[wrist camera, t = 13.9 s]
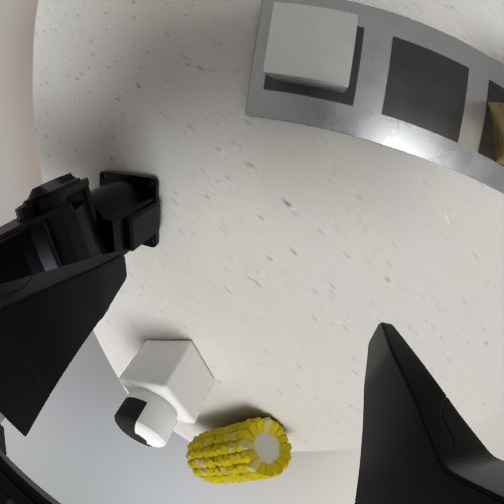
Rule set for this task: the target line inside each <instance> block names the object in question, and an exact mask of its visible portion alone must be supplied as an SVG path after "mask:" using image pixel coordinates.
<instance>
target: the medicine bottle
mask: <svg viewBox="0 0 504 504" xmlns="http://www.w3.org/2000/svg"><path fill="white" fill-rule="evenodd" d="M119 380H120V382H121V383H122V384H123V386H124V387H125V388H126V389H127V390H128V392H129V394H128V396H127V397H126V399H125V400H124V402H123V404H122V405H121V406H120V408H119V409H118V411H117V413H116V414H115V421H116V423H117V424H118V426H119V427H120V429H121V430H122V431H123V432H124V433H126V434H127V435H129V436H130V437H131V438H133V439H134V440H136V441H138V442H140V443H142V444H145V445H147V446H151V447H162V446H165V445H166V443H167V441H168V439H169V436H170V435H171V433H172V431H173V429H174V427H175V425H176V423H177V421H181V422H187V423H195V422H196V420H197V418H198V415H199V413H200V411H201V409H202V407H203V404H204V402H205V400H206V398H207V396H208V393H209V391H210V389H211V387H212V384H213V382H214V378H213V376H212V375H211V373H210V372H209V370H208V368H207V367H206V365H205V363H204V361H203V360H202V358H201V356H200V355H199V353H198V351H197V349H196V348H195V346H194V344H193V342H192V341H164V340H147V341H146V342H145V343H144V344H143V346H142V347H141V349H140V350H139V351H138V353H137V354H136V355H135V357H134V358H133V360H132V361H131V362H130V364H129V365H128V366H127V368H126V369H125V371H124V372H123V373H122V375H121V376H120V378H119Z"/></svg>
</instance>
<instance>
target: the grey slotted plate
mask: <svg viewBox="0 0 504 504" xmlns="http://www.w3.org/2000/svg"><path fill="white" fill-rule="evenodd" d="M274 2H281V3H292V4H301V5H309V6H316V7H322V8H328V9H333V10H339V11H343V12H348V13H353V14H357V15H358V22H357V30H356V39H355V46H354V54H353V61H352V68H351V74H350V80H349V87H348V88H347V89H346V91H345V92H344V93H341V92H337V91H333V90H328V89H323V88H318V87H313V86H308V85H302V84H296V83H290V82H284V81H276V80H274V79H273V78H272V77H270V76H269V75H267V74H266V73H264V72H263V69H264V63H265V56H266V50H267V43H268V37H269V31H270V24H271V18H272V12H273V6H274ZM488 102H502V103H504V66H503V65H502V64H500V63H498V62H497V61H495V60H494V59H492V58H490V57H489V56H487V55H485V54H484V53H482V52H480V51H479V50H477V49H475V48H473V47H471V46H469V45H468V44H466V43H464V42H462V41H460V40H458V39H456V38H454V37H452V36H450V35H448V34H445V33H443V32H441V31H439V30H436V29H434V28H432V27H429V26H427V25H425V24H422V23H419V22H417V21H414V20H412V19H409V18H406V17H403V16H400V15H397V14H394V13H391V12H388V11H384V10H381V9H378V8H374V7H370V6H367V5H363V4H358V3H354V2H350V1H345V0H263V3H262V8H261V14H260V20H259V26H258V33H257V39H256V45H255V52H254V58H253V65H252V71H251V78H250V85H249V92H248V99H247V106H246V113H245V115H249V116H257V117H263V118H270V119H276V120H282V121H288V122H293V123H299V124H304V125H309V126H313V127H318V128H323V129H327V130H331V131H336V132H340V133H344V134H348V135H351V136H355V137H359V138H363V139H366V140H370V141H373V142H377V143H380V144H383V145H386V146H390V147H393V148H396V149H399V150H402V151H405V152H408V153H411V154H414V155H416V156H419V157H422V158H425V159H427V160H430V161H433V162H435V163H438V164H440V165H443V166H445V167H448V168H450V169H453V170H455V171H457V172H460V173H462V174H464V175H467V176H469V177H471V178H473V179H475V180H478V181H480V182H482V183H484V184H486V185H488V186H490V187H492V188H494V189H496V190H498V191H500V192H502V193H504V165H503V164H500V163H498V162H496V157H495V147H494V138H493V131H492V124H491V118H490V112H489V107H488Z"/></svg>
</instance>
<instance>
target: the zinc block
mask: <svg viewBox="0 0 504 504" xmlns="http://www.w3.org/2000/svg"><path fill="white" fill-rule="evenodd" d="M357 22H358V15H357V14H353V13H348V12H343V11H339V10H333V9H328V8H322V7H316V6H309V5H301V4H292V3H281V2H274V6H273V12H272V18H271V24H270V31H269V37H268V43H267V50H266V56H265V63H264V69H263V72H264V73H266V74H267V75H269V76H270V77H272V78H273V79H274V80H276V81H284V82H290V83H296V84H302V85H308V86H313V87H318V88H323V89H328V90H333V91H337V92H341V93H344V92H345V91H346V89H347V88H348V87H349V80H350V74H351V68H352V61H353V54H354V46H355V39H356V30H357Z"/></svg>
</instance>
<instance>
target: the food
mask: <svg viewBox="0 0 504 504" xmlns="http://www.w3.org/2000/svg"><path fill="white" fill-rule="evenodd" d="M283 433H284V428H283V427H282V426H280V425H279V423H278V422H276V421H273V420H271V418H270V417H264V418H263V419H262V418H260V417H257V418H255V419H253V418H251V419H247V420H246V421H243V422H238V423H235V424H230V425H227V426H226V427H219V428H216V429H214V430H210V431H205V432H204V433H201V434H199V436H195V437H194V438H193V442H190V444H189V445H188V446H187V447H188V449H189V451H187V455H186V457H187V459H188V465H189V467H190V468H191V469H192V470H193V473H194V475H196V476H199V477H200V478H202V479H203V480H204V481H209V482H211V483H219V482H220V483H231V482H232V483H233V482H239V483H240V482H245V481H246V482H247V481H250V480H252V481H254V480H257V479H267V478H270V477H275V476H278V475H280V474H281V473H282V471H283V469H286V468H287V466H288V464H289V463H288V462H289V461H290V459H291V454H290V450H291V448H292V447H291V444H290V443H287V441H288V438H287V436H286V434H283Z"/></svg>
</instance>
